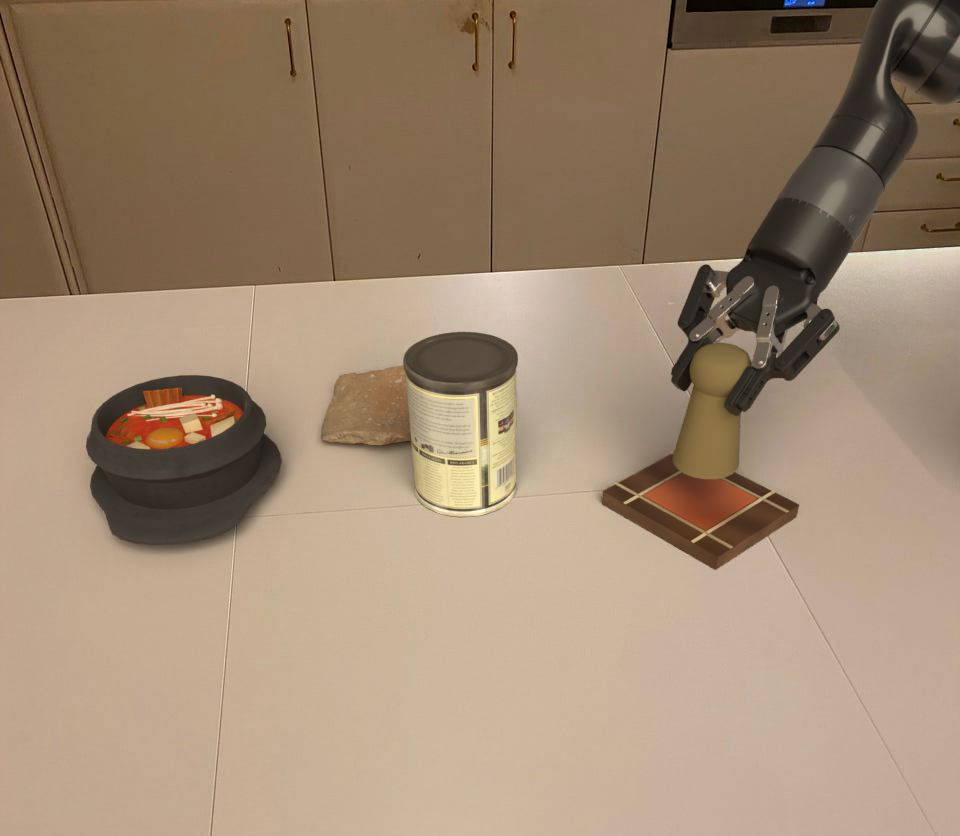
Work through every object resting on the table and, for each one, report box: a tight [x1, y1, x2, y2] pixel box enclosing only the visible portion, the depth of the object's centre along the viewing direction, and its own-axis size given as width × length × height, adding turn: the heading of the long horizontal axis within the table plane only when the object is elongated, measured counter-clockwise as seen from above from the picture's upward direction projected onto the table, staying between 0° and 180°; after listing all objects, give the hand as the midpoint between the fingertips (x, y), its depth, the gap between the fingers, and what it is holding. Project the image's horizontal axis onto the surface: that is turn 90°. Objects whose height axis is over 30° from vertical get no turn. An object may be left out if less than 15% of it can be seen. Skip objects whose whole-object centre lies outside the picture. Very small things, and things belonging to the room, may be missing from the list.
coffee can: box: [402, 331, 519, 518], centre depth 93 cm, size 10×10×14 cm
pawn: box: [672, 342, 753, 479], centre depth 87 cm, size 6×6×11 cm
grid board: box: [601, 451, 800, 571], centre depth 94 cm, size 12×14×2 cm
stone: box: [320, 364, 411, 446], centre depth 107 cm, size 11×16×3 cm
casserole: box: [85, 374, 283, 546], centre depth 96 cm, size 25×19×8 cm
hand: (703, 397), depth 85 cm, fingers closed on pawn, 5 cm apart
